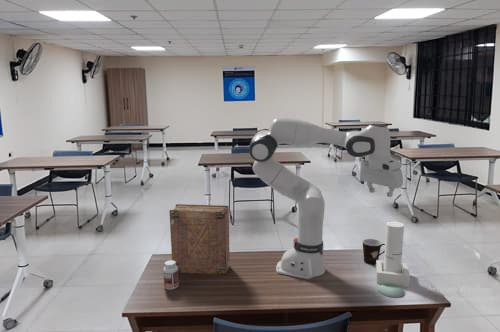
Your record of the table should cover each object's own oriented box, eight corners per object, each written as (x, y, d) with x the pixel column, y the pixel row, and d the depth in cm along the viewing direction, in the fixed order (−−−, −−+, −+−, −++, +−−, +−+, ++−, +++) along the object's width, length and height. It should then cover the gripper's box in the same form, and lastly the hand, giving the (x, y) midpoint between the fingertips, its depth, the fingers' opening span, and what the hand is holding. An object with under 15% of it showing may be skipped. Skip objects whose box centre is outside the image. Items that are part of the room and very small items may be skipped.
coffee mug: (361, 264, 188) (362, 244, 186) (361, 257, 196) (362, 238, 194) (387, 267, 185) (388, 247, 183) (386, 259, 193) (387, 240, 191)
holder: (376, 283, 170) (377, 272, 169) (375, 270, 182) (376, 259, 181) (409, 287, 167) (409, 276, 166) (405, 273, 179) (406, 262, 178)
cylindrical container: (401, 282, 170) (405, 227, 166) (384, 281, 172) (387, 226, 167) (398, 275, 177) (402, 221, 172) (382, 273, 179) (385, 221, 174)
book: (172, 272, 182) (168, 210, 177) (178, 263, 191) (175, 204, 186) (226, 275, 179) (224, 211, 173) (230, 266, 188) (228, 205, 182)
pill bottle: (176, 281, 174) (175, 258, 171) (180, 288, 168) (179, 263, 166) (162, 284, 171) (161, 261, 169) (166, 291, 166) (164, 266, 163)
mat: (378, 295, 160) (378, 294, 160) (377, 284, 170) (378, 282, 169) (405, 299, 157) (405, 297, 157) (402, 286, 167) (402, 285, 167)
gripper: (355, 161, 172) (357, 191, 175) (394, 167, 155) (395, 201, 158) (366, 158, 175) (367, 188, 178) (405, 164, 158) (405, 197, 161)
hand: (380, 194), depth 168 cm, fingers open, 8 cm apart
